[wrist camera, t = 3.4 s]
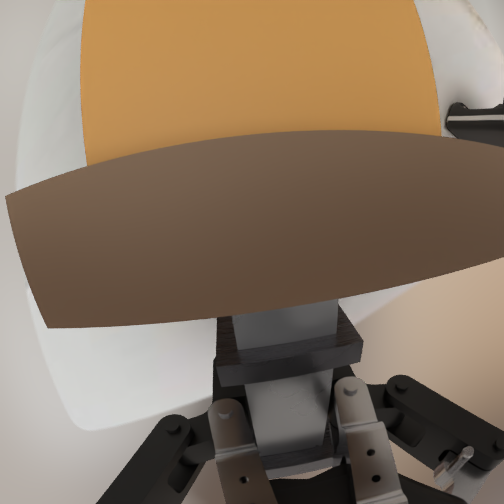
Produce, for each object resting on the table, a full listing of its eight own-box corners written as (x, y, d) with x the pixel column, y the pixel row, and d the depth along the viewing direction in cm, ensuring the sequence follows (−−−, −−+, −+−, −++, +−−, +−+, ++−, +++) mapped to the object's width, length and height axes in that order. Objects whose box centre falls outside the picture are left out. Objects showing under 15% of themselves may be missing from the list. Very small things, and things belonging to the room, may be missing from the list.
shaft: (176, -24, 6) (157, -91, 2) (288, -31, 6) (317, -95, 2) (240, 414, 13) (246, 481, 9) (318, 401, 14) (340, 463, 9)
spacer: (157, 72, 9) (85, -4, 3) (319, 58, 10) (408, -12, 3) (166, 160, 11) (88, 172, 4) (330, 142, 11) (442, 141, 4)
